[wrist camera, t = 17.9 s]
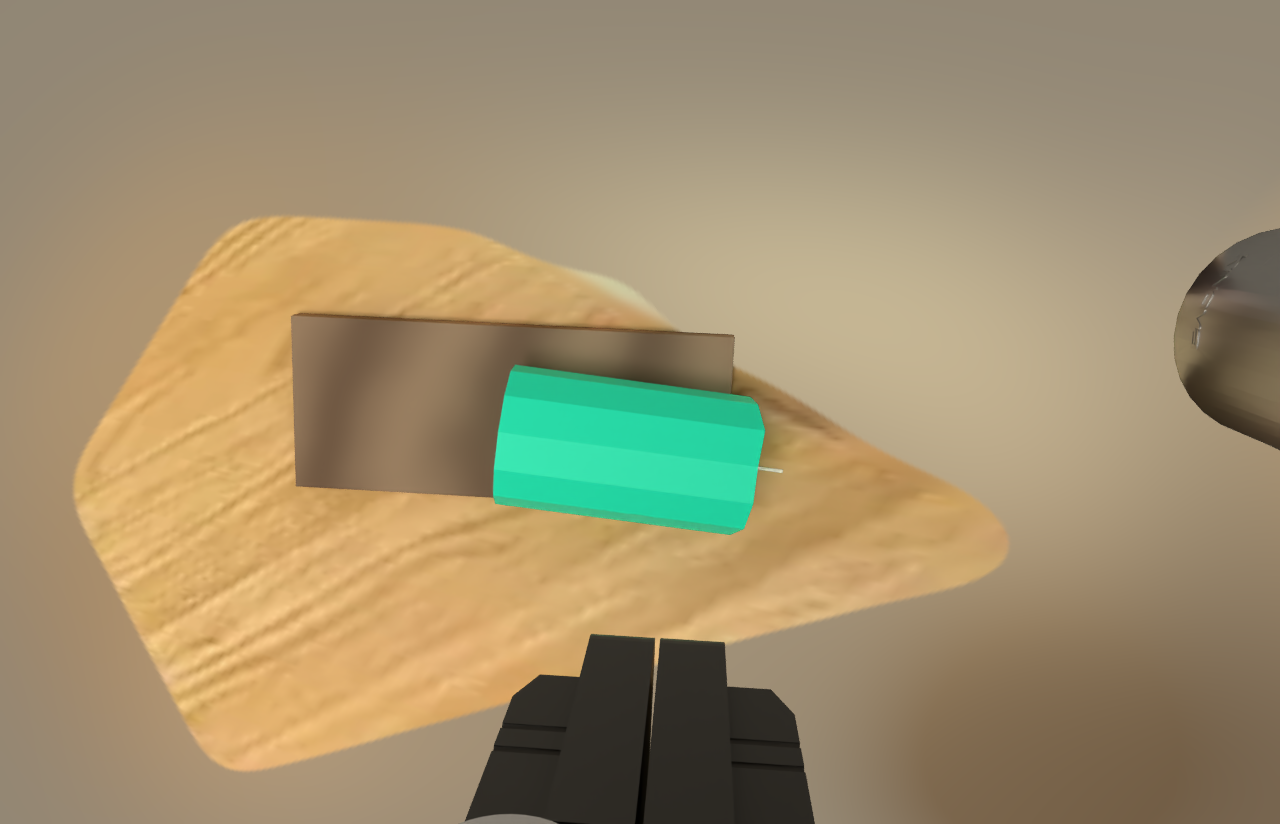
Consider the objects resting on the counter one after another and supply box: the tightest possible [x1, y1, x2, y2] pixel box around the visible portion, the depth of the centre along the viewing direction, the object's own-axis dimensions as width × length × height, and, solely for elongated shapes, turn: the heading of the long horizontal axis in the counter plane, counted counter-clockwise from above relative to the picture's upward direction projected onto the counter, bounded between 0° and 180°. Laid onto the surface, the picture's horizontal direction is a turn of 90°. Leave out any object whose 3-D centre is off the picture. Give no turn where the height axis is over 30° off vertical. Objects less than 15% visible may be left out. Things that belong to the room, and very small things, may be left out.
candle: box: [493, 365, 783, 535], centre depth 43 cm, size 6×6×12 cm
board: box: [291, 313, 735, 498], centre depth 46 cm, size 20×8×1 cm, turn 87°
